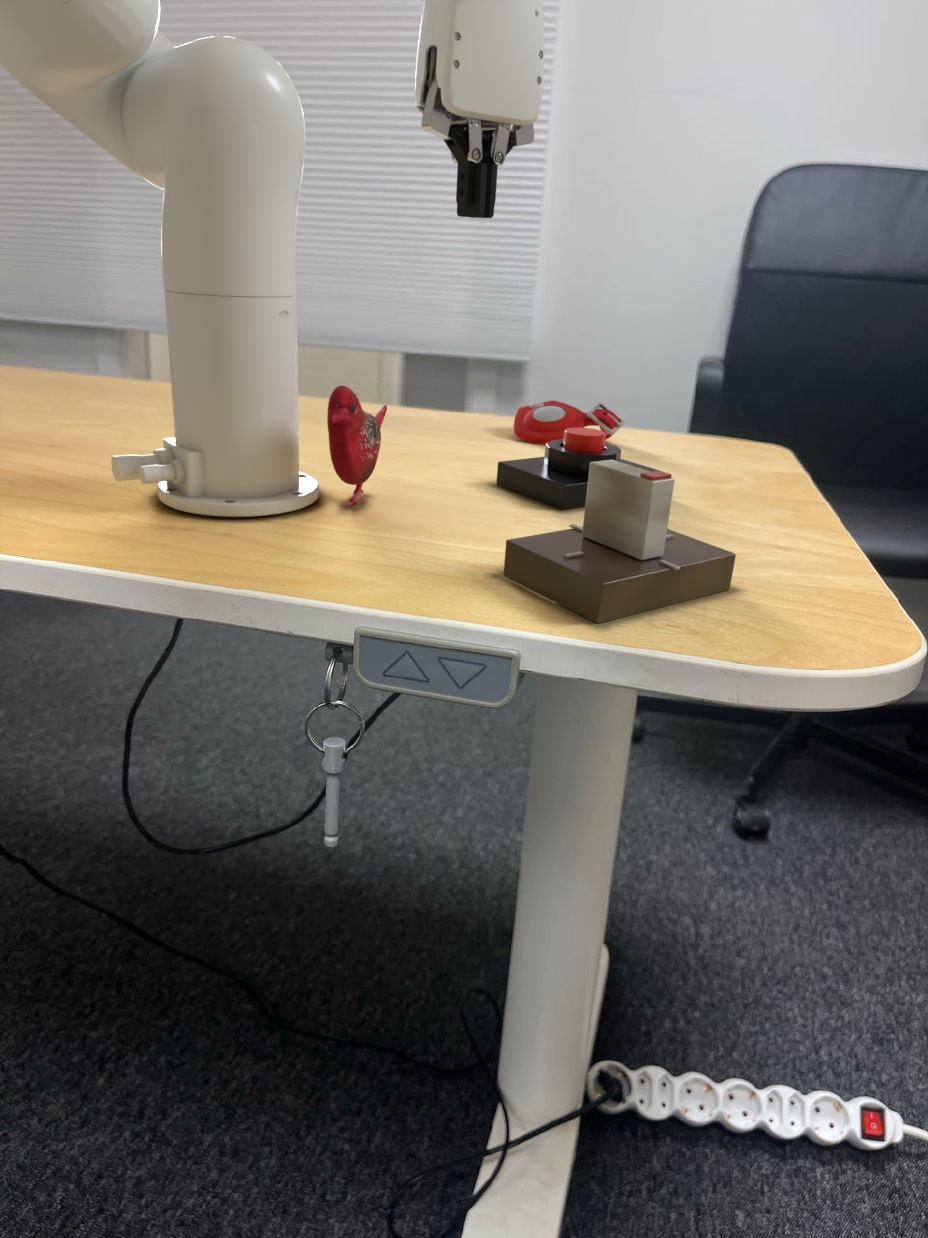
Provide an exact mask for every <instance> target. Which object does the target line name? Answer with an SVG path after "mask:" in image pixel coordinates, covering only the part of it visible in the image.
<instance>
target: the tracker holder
mask: <svg viewBox="0 0 928 1238" xmlns="http://www.w3.org/2000/svg"><path fill="white" fill-rule="evenodd" d="M625 424H626V421H625V420H624V419H623V418H621V417H620V416H619V415H617V414H616V413H615V412H614V411H613V410H612V409H610V408H609V407H608V406H606V404H605V403H603V402H602V401H599V402H598V403H596V405H594V406H593V407H592V408H591V409H589V411H587V412H584V411H582V410H580V409H579V408H577V407H575V406H573V405H571V404H567V403H565V402H562V401H558V400H554V399H552V400H551V399H550V400H546V401H542V402H540V401H535V402H532V403H530V404H528V405H524V406H519V407H518V408H517V410H516V413H515V416H514V420H513V426H512V427H513V434H514V435H515V436H516V438H519V439H520V440H522V441H524V442H527V443H530V444H537V445H546V443H548V442H550V441H552V440H559V439H564V431H565V429H568V428H587V427H590V426H594V427H595V426H598V427H599V430H600V431H603V432H605V434H606V435H605V441H606V440H608V439H610V438H611V437H612V436H614V435H615V434H616V433H617V432H618V431H619V430H620V429H621V428H622V427H623V426H625Z"/></svg>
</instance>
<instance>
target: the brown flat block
mask: <svg viewBox="0 0 928 1238" xmlns="http://www.w3.org/2000/svg"><path fill="white" fill-rule="evenodd" d="M568 526H569V528H567V529H561V530H556V531H550V532H544V533H539V534H538V533H537V534H532V535H527V536H522V537H521V536H520V537H515V538H510V539H506V540H505V552H504V563H503V564H504V566H503V576H504V577H506V578H507V579H510V580H512V581H513V582H515V583H517V584H519V585H521V586H523V587H525V588H527V589H528V590H529V589H530V590H531V591H533V592H535V593H537V594H538V595H541V596H543V597H544V598H547V599H549V600H551V601H553V602H554V603H557V604H558V605H560V606H563V607H564V608H566V609H569V610H571V611H573V612H574V613H576V614H578V615H580V616H582V617H584V618H586V619H588V620H590V621H592V622H594V623H596V624H601V623H605V622H608V621H613V620H617V619H621V618H623V617H628V616H631V615H636V614H639V613H643V612H648V611H651V610H655V609H659V608H663V607H668V606H670V605H675V604H678V603H681V602H685V601H689V600H694V599H697V598H701V597H705V596H708V595H712V594H717V593H720V592H725V591H728V590H730V589H731V584H732V579H733V573H734V568H735V562H736V558H737V557H736V556H737V553H735V552H733V551H729V550H727V549H724V548H721V547H718V546H715V545H713V544H711V543H707V542H705V541H702V540H700V539H697V538H694V537H691V536H689V535H685V534H684V533H683V534H682V533H681V532H678V531H674V530H672V529H669V528H667V534H666V540H665V547H664V553H663V556H660V557H655V558H650V559H646V560H639V559H637V558H635V557H632V556H630V555H627V554H625V553H622V552H620V551H618V550H615V549H613V548H610V547H608V546H605V545H603V544H601V543H598V542H596V541H593V540H591V539H588V538H586V537H584V536H582V530H583V526H580V525H577V524H575V523H571V524H569V525H568Z"/></svg>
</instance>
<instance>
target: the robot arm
mask: <svg viewBox="0 0 928 1238" xmlns="http://www.w3.org/2000/svg"><path fill="white" fill-rule="evenodd" d="M160 16H161V1H160V0H0V66H1V67H2V68H3V69H4V70H5V71H6V72H7V73H8V74H9V75H10V76H11V77H12V78H13V79H14V80H15V81H16V82H17V83H19V84H20V85H21V86H22V87H23V88H24V89H26V90H27V91H28V92H29V93H31V94H32V95H33V96H34V97H36V98H37V99H38V100H39V101H41V102H42V103H43V104H44V105H46V106H47V107H48V108H50V109H51V110H52V111H54V112H55V113H56V114H57V115H59V116H60V117H61V118H62V119H64V120H65V121H66V122H68V123H69V124H70V125H71V126H73V128H74V127H75V129H76V130H78V131H79V132H80V133H81V134H83V135H84V136H85V137H87V138H88V139H90V140H91V142H93V143H94V144H96V145H97V146H99V147H100V148H101V149H102V150H104V151H105V152H106V153H108V154H109V155H110V156H111V157H112V158H114V159H115V160H117V161H118V162H119V163H121V164H122V165H123V166H124V167H126V168H127V169H129V170H130V171H132V172H133V173H134V174H135V175H137V176H139V177H140V178H141V179H143V180H145V181H146V182H147V183H149V184H151V185H153V186H154V187H156V188H158V189H160V190H163V198H162V211H161V229H160V230H161V233H160V243H161V244H160V249H161V272H162V285H163V287H162V288H163V290H164V303H165V317H166V319H165V320H166V330H167V331H166V332H167V333H166V334H167V345H168V358H169V360H168V361H169V375H170V387H171V388H170V389H171V402H172V414H173V415H172V416H173V431H174V437H163V438H162V440H163V441H162V444H163V447H161V448H154V449H153V450H152V453H149V454H140V455H139V454H122V455H112V457H111V463H110V465H111V471H112V475H113V478H114V480H115V481H116V482H117V483H118V482H127V481H138V480H139V481H140V483H141V484H142V485H148V484H157V486H156V487H157V495H158V496H157V498H158V499H159V501H160V502H162V503H163V504H164V505H165V506H167V507H169V508H172V509H175V510H177V511H181V512H184V513H189V514H194V515H195V514H196V515H201V516H210V517H226V518H251V517H263V516H273V515H280V514H284V513H285V514H286V513H290V512H291V513H292V512H294V511H298V510H302V509H304V508H306V507H308V506H311V505H312V504H314V502H316V501H317V500H318V498H319V496H320V493H319V491H320V490H319V489H320V487H319V486H320V485H319V483H318V480H317V479H316V478H314V477H313V476H312V475H309V474H307V473H305V472H302V471H300V433H299V431H300V430H299V424H300V423H299V373H298V372H299V370H298V308H297V307H298V306H297V300H298V299H297V281H296V280H297V275H296V274H297V273H296V271H297V270H296V269H297V264H296V263H297V260H296V256H297V255H296V251H297V250H296V249H297V227H298V226H297V224H298V223H297V222H298V212H299V211H298V210H299V202H300V195H301V188H302V181H303V173H304V165H305V156H306V124H305V116H304V111H303V106H302V102H301V99H300V97H299V94H298V92H297V89H296V87H295V85H294V83H293V81H292V80H291V77H290V76H289V75H288V73H287V72H286V70H285V68H284V67H283V66H282V65H281V63H280V62H278V61H277V59H276V58H275V57H273V55H271V54H270V53H269V52H268V51H267V50H265V49H263V48H262V47H260V46H259V45H257V44H255V43H253V42H251V41H248V40H246V39H243V38H239V37H234V36H227V35H213V36H207V37H201V38H197V39H195V40H192V41H189V42H187V43H184V44H183V43H182V44H180V45H178V46H177V45H175V44H174V43H173V42H172V41H171V40H170V39H169V38H168V37H166V35H164V34H163V32H161V31H160V30H159V29H158V27H159V23H160V18H161V17H160ZM416 52H417V53H416V64H415V78H414V105H415V108H416V110H417V111H418V113H419V114H421V115H422V118H421V128H422V129H423V131H426V132H427V133H429V134H432V135H434V136H436V137H438V138H441V139H442V140H443V141H444V143H445V145H446V146H447V148H448V149H449V151H450V154H451V160H452V162H453V163H454V164H455V165H457V171H456V175H457V176H456V191H455V192H456V195H455V201H456V215H457V216H458V217H459V218H471V219H472V218H473V219H493V217H494V214H495V205H496V201H497V200H496V198H497V183H498V169H499V168H498V167H500V166H502V165H503V164H504V163H505V162H506V161H505V160H506V157H507V155H508V154H509V153H510V152H511V150H513V148H515V147H520V146H525V145H531V144H533V142H534V140H535V129H534V123H535V122H537V121H538V118H539V116H540V113H541V108H542V98H543V89H544V74H545V72H544V71H545V70H544V69H545V18H544V2H543V0H424V2H423V7H422V11H421V19H420V26H419V35H418V42H417V51H416Z"/></svg>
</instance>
